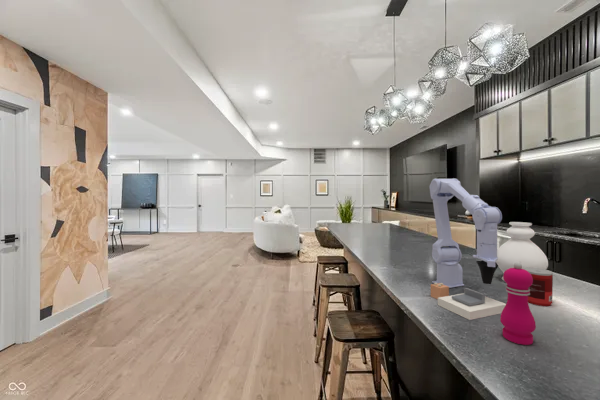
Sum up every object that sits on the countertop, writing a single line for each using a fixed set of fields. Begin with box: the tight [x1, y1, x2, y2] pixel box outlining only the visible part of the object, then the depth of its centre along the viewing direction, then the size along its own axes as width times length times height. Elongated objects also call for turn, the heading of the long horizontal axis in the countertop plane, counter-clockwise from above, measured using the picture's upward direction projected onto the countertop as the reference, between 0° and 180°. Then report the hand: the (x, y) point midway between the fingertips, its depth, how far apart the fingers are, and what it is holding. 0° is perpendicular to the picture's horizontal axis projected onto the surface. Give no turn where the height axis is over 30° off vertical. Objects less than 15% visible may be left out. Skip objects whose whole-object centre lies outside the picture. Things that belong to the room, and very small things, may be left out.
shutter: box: [452, 287, 486, 306], centre depth 90 cm, size 7×7×3 cm
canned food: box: [524, 268, 554, 307], centre depth 95 cm, size 8×8×11 cm
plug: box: [430, 283, 450, 300], centre depth 100 cm, size 4×4×5 cm
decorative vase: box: [496, 221, 549, 282], centre depth 117 cm, size 18×18×25 cm
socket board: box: [437, 292, 506, 321], centre depth 91 cm, size 16×12×2 cm
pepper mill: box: [499, 262, 537, 346], centre depth 72 cm, size 7×7×20 cm
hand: (486, 283), depth 93 cm, fingers closed
